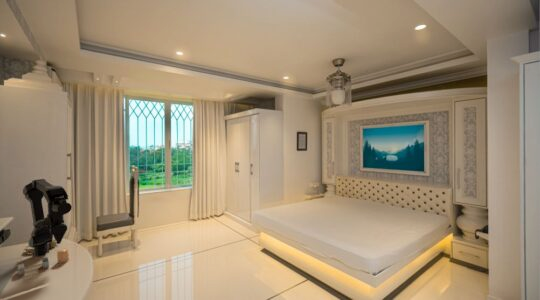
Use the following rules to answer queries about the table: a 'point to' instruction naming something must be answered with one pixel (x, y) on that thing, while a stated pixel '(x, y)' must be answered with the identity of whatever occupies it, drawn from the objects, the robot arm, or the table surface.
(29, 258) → the table surface
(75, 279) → the table surface
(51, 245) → the alarm clock
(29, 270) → the board
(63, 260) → the orange-tan rounded capsule
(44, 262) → the clamp jaws
